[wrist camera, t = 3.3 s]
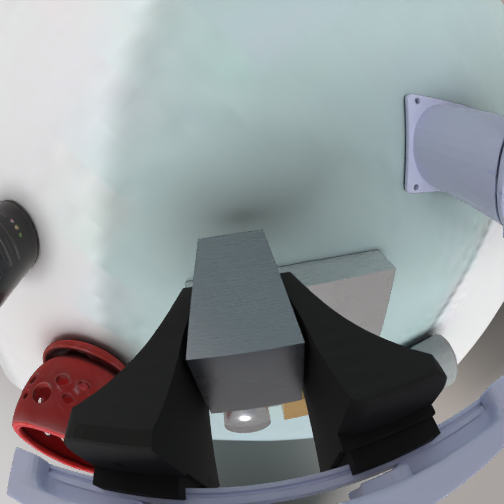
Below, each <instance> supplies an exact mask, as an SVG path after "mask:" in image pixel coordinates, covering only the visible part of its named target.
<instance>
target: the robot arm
mask: <svg viewBox="0 0 504 504" xmlns="http://www.w3.org/2000/svg"><path fill="white" fill-rule="evenodd" d="M415 99H416V100H417V103H415ZM405 106H406V173H405V190H406V191H407V192H408V193H422V192H436V191H444V192H446V193H448V194H450V195H452V196H454V197H455V198H457V199H459V200H461V201H463V202H465V203H466V204H468V205H470V206H472V207H473V208H475V209H477V210H478V211H480V212H482V213H483V214H485V215H487V216H488V217H490V218H492V219H493V220H495V221H496V222H498V223H499V224H501V225H503V237H504V116H503V115H499V114H495V113H490V112H485V111H480V110H476V109H474V108H471V107H467V106H464V105H460V104H456V103H452V102H448V101H444V100H440V99H435V98H430V97H425V96H420V95H414V94H407V95H406V97H405ZM415 185H416V187H415V188H414V186H415ZM280 276H281V279H282V281H283V284H284V287H285V290H286V292H287V295H288V298H289V300H290V303H291V306H292V309H293V311H294V314H295V317H296V320H297V322H298V325H299V328H300V331H301V333H302V336H303V339H304V342H305V349H304V370H303V387H302V390H303V394H304V398H305V402H306V406H307V410H308V414H309V419H310V423H311V427H312V432H313V437H314V441H315V446H316V451H317V456H318V462H319V467H320V473H317V474H313V475H308V476H304V477H300V478H295V479H290V480H284V481H279V482H272V483H265V484H258V485H249V486H240V487H226V488H218V487H219V486H220V484H219V480H218V475H217V469H216V463H215V457H214V451H213V443H212V435H211V426H210V416H209V408H208V406H207V404H206V402H205V400H204V398H203V396H202V394H201V392H200V389H199V387H198V385H197V383H196V381H195V379H194V377H193V375H192V372H191V370H190V368H189V366H188V364H187V361H186V352H187V339H188V327H189V316H190V306H191V296H192V287H186V288H183V289H182V291H181V292H180V294H179V296H178V297H177V299H176V301H175V302H174V304H173V306H172V307H171V309H170V311H169V312H168V314H167V315H166V317H165V318H164V320H163V321H162V323H161V324H160V326H159V327H158V329H157V330H156V332H155V333H154V334H153V336H152V337H151V338H150V340H149V341H148V342H147V344H146V345H145V346H144V347H143V349H142V350H141V351H140V352H139V353H138V354H137V355H136V357H135V358H134V359H133V360H132V361H131V362H130V363H129V364H128V365H127V366H126V367H125V368H124V369H123V370H122V371H121V372H119V373H118V374H117V375H116V376H115V377H114V378H113V379H112V380H111V381H109V382H108V383H107V384H106V385H104V386H103V387H102V388H101V389H99V390H98V391H97V392H95V393H94V394H93V395H91V396H90V397H88V398H87V399H85V400H84V401H82V402H81V403H79V404H78V405H76V406H74V407H73V408H72V410H71V413H70V417H69V421H68V425H67V429H66V433H65V437H64V443H65V445H66V446H67V447H68V449H69V450H71V451H72V452H73V453H75V454H76V455H78V456H79V457H81V458H82V459H84V460H85V461H87V462H89V463H90V464H92V465H94V466H95V468H94V476H89V475H85V474H81V473H78V472H74V471H70V470H67V469H64V468H61V467H57V466H54V465H52V464H49V463H48V462H47V461H45V460H44V459H42V458H41V457H39V456H37V455H35V454H33V453H31V452H28V451H25V450H23V449H21V448H18V447H17V448H16V449H15V454H14V458H13V462H12V467H11V472H10V477H9V483H8V489H7V494H8V496H10V497H11V498H13V499H14V500H16V501H18V502H19V503H21V504H269V503H275V502H282V501H287V500H293V499H297V498H302V497H307V496H311V495H315V494H320V493H323V492H327V491H331V490H334V489H338V488H341V487H344V486H347V485H350V484H353V483H356V482H359V481H362V480H365V479H367V478H370V477H373V476H375V475H378V474H380V473H383V472H385V471H387V470H390V469H392V468H393V469H392V470H390V471H388V472H386V473H384V474H382V475H380V476H378V477H376V478H373V479H371V480H369V481H367V482H364V483H362V484H361V485H360V487H359V488H358V489H356V490H354V491H352V492H350V493H349V498H350V500H349V501H345V502H342V503H338V504H436V503H437V502H439V501H440V500H441V499H443V498H444V497H446V496H447V495H449V494H450V493H451V492H453V491H454V490H456V489H457V488H458V487H459V486H461V485H462V484H463V483H465V482H466V481H467V480H468V479H469V478H470V477H472V476H473V475H474V474H476V473H477V472H478V471H479V470H480V469H481V468H482V467H484V466H485V465H486V464H487V463H488V462H489V461H490V460H491V459H492V458H493V457H494V456H495V455H496V454H497V453H498V452H499V451H500V450H501V449H502V448H503V447H504V375H503V376H502V377H500V378H499V379H498V380H497V381H495V382H494V383H493V384H492V385H490V386H489V387H488V388H487V389H486V391H485V392H484V393H483V394H482V395H481V396H480V398H479V399H478V400H477V401H475V402H474V403H472V404H471V405H469V406H468V407H467V408H465V409H464V410H462V411H460V412H459V413H457V414H456V415H454V416H453V417H451V418H449V419H448V420H446V421H444V422H443V423H441V424H439V425H437V424H436V422H435V421H434V419H433V417H432V416H433V415H434V414H435V411H434V408H433V407H432V405H431V404H432V403H433V402H434V401H435V399H436V398H437V397H438V395H439V394H440V393H441V391H442V390H443V388H444V387H445V385H446V381H447V376H446V374H445V372H444V371H443V369H442V367H441V366H440V364H439V363H438V361H437V360H436V359H435V357H434V356H433V355H432V354H429V353H425V352H422V351H418V350H414V349H411V348H407V347H404V346H402V345H399V344H396V343H394V342H391V341H388V340H386V339H384V338H381V337H379V336H377V335H375V334H373V333H371V332H369V331H367V330H365V329H363V328H361V327H359V326H358V325H356V324H354V323H353V322H351V321H349V320H348V319H346V318H344V317H343V316H341V315H340V314H339V313H337V312H336V311H334V310H333V309H332V308H330V307H329V306H328V305H327V304H325V303H324V302H323V301H322V300H320V299H319V298H318V297H317V296H316V295H315V294H313V293H312V292H311V291H310V290H309V289H308V288H307V287H306V286H305V285H304V284H303V283H302V282H300V281H299V280H298V279H297V278H296V277H295V276H294V275H293V274H292V273H291V272H285V273H280Z"/></svg>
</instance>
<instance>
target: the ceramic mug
mask: <svg viewBox="0 0 504 504" xmlns="http://www.w3.org/2000/svg"><path fill="white" fill-rule="evenodd" d="M411 349H414V350H418V351H422V352H425V353H429V354H432V355H433V356H434V357H435V359H436V360H437V361H438V363H439V364H440V366H441V367H442V369H443V371H444V372H445V374H446V376H447V381H446V385H445V387H447V386H449V385H451V384H452V383H454V381H455V380H456V377H457V371H458V366H457V360H456V356H455V353H454V351H453V349H452V347H451V346H450V344H449V342H448V341H447V340H446V339H445V338H444V337H443V336H441V335H438V334H435V335H433V336H431V337H429V338H427V339H425V340H424V341H422V342H420V343H418V344H416V345H414V346H413V347H411ZM445 387H444V388H445ZM444 388H443V389H444Z"/></svg>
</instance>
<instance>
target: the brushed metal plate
mask: <svg viewBox="0 0 504 504" xmlns="http://www.w3.org/2000/svg"><path fill="white" fill-rule="evenodd" d="M277 268H278V271H279V273H285V272H291V273H292V274H293V275H294V276H295V277H296V278H297V279H298V280H299V281H300V282H302V283H303V284H304V285H305V286H306V287H307V288H308V289H309V290H310V291H311V292H312V293H313V294H315V295H316V296H317V297H318V298H319V299H320V300H322V301H323V302H324V303H325V304H327V305H328V306H329V307H330V308H332V309H333V310H334V311H336V312H337V313H339V314H340V315H341V316H343V317H344V318H346V319H348V320H349V321H351V322H353V323H354V324H356V325H358V326H359V327H361V328H363V329H365V330H367V331H369V332H371V333H373V334H375V335H377V336H379V337H380V333H381V330H382V326H383V322H384V319H385V315H386V311H387V307H388V303H389V298H390V294H391V290H392V285H393V280H394V275H395V270H396V267H395V266H394V265H393V264H392V263H391V262H390V261H389V260H388V259H387V258H386V257H385V256H384V255H383V254H382V253H381V252H380V251H379V250H373V251H367V252H362V253H356V254H351V255H345V256H340V257H334V258H329V259H323V260H317V261H311V262H306V263H300V264H294V265H288V266H282V267H277ZM186 287H193V281H187V282H186V284H185V288H186ZM279 405H281V406H282V410H283V415H284V419H285V420H286V419H291V418H296V417H300V416H305V415H309V414H308V410H307V406H306V402H305V398H304V394H303V390H302V400H299V401H295V402H290V403H284V404H279ZM274 406H277V405H274ZM268 407H272V406H268ZM268 407H261V408H255V409H248V410H240V411H231V412H224V423H225V428H226V429H227V430H229V431H232V432H237V433H250V432H255V431H259V430H262V429H264V428H266V427H267V426H269V424H270V422H271V421H270V415H269V410H268Z"/></svg>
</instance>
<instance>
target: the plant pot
mask: <svg viewBox="0 0 504 504" xmlns="http://www.w3.org/2000/svg"><path fill="white" fill-rule="evenodd" d="M43 363H44V364H43V365H41V366H40V367H39V368H38V369H37V370H36V371H35V372H34V373H33V375H32V376H31V377H30V379H29V381H28V382H27V384H26V386H25V387H24V389H23V391H22V394H21V397H20V399H19V401H18V403H17V406H16V409H15V413H14V416H13V422H12V426H13V429H14V430H15V432H16V433H17V434H18V435H19V436H20V437H21V438H22V439H23V440H24V441H25V442H27V443H28V444H29V445H31V446H32V447H34V448H35V449H37V450H38V451H40V452H41V453H43V454H45V455H47V456H49V457H51V458H53V459H55V460H57V461H59V462H61V463H63V464H66V465H68V466H71V467H73V468H76V469H79V470H83V471H86V472H90V473H93V474H94V468H95V466H94V465H92V464H90V463H89V462H87V461H85V460H84V459H82V458H81V457H79V456H78V455H76V454H75V453H73V452H72V451H71V450H69V449H68V447H67V446H66V445H65V443H64V441H62V439H61V438H63V439H64V437H65V433H66V429H67V425H68V421H69V417H70V413H71V410H72V408H73V407H74V406H76V405H78V404H79V403H81V402H82V401H84V400H85V399H87V398H88V397H90V396H91V395H93V394H94V393H95V392H97V391H98V390H99V389H101V388H102V387H103V386H104V385H106V384H107V383H108V382H109V381H111V380H112V379H113V378H114V377H115V376H116V375H117V374H118V373H119V372H121V371H122V370H123V369H124V368H125V367H126V366H125V365H124V364H123V363H122V362H121V361H120V360H118V359H117V358H116V357H114V356H113V355H112V354H110V353H108V352H107V351H105V350H103V349H101V348H99V347H97V346H94V345H92V344H89V343H86V342H82V341H77V340H60V341H56V342H54V343H52V344H50V345H49V346H48V347H47V348H46V349H45V351H44V354H43ZM39 398H41V403H38V400H39ZM44 432H47V433H50V435H46V434H45V433H44Z"/></svg>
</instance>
